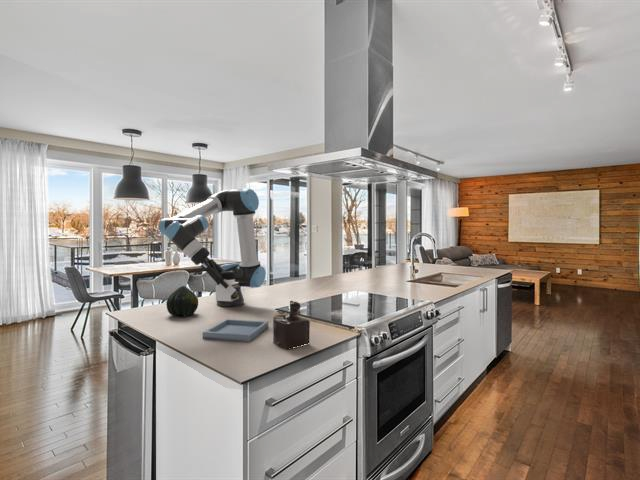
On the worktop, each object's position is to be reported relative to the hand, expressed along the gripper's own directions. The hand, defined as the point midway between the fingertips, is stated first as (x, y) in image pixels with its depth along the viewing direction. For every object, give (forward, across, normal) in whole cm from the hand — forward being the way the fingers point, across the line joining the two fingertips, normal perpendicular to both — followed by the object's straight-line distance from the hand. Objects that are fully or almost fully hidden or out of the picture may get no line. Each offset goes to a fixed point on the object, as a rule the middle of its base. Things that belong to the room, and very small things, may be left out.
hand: (235, 290), depth 154 cm
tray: (+13, +2, -12) cm, 18 cm away
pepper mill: (+30, +20, +5) cm, 36 cm away
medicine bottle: (+1, 0, -5) cm, 5 cm away
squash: (-9, -31, -34) cm, 47 cm away
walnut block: (+26, -6, +1) cm, 26 cm away
